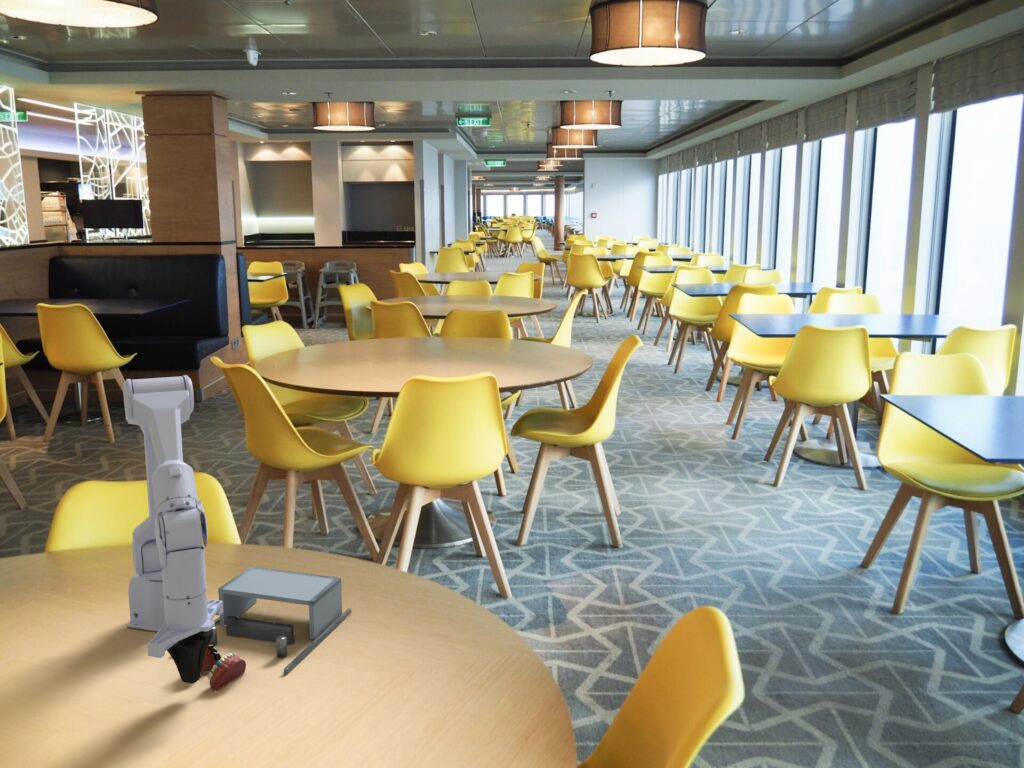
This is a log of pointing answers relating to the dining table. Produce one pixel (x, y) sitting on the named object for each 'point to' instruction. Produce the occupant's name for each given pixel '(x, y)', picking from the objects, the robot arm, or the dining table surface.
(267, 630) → the pin seat
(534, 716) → the dining table surface
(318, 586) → the housing
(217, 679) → the dentures
